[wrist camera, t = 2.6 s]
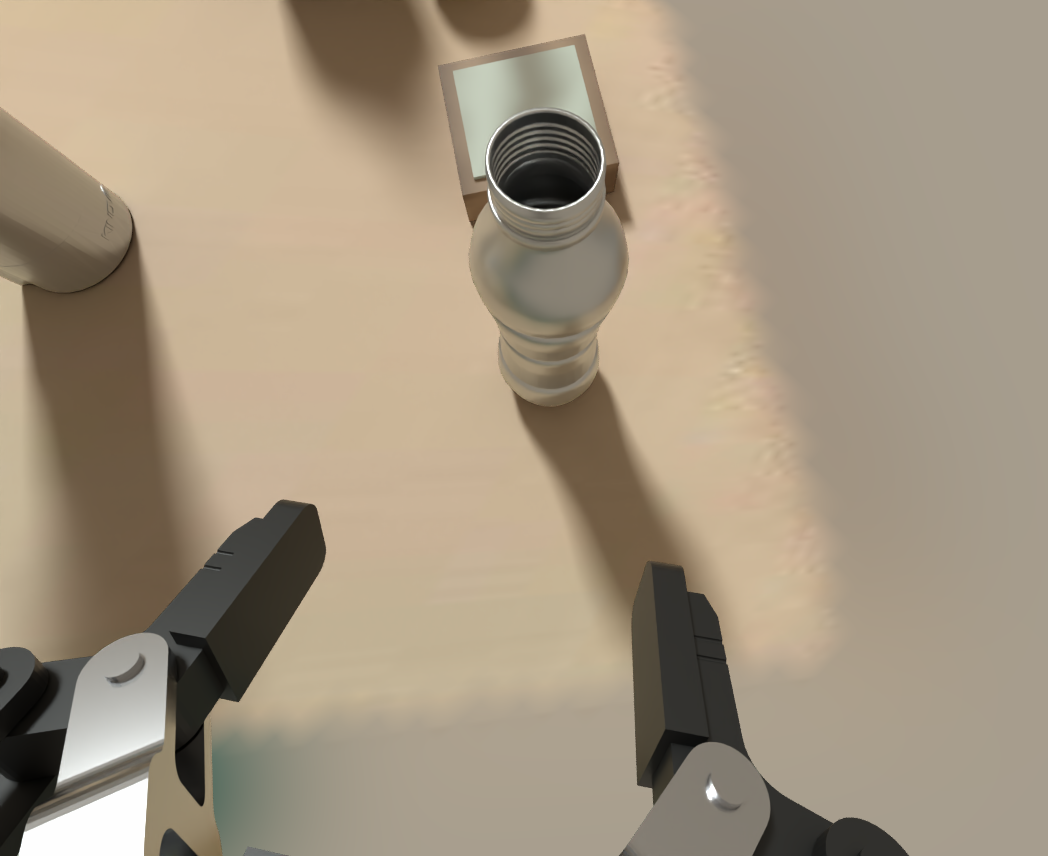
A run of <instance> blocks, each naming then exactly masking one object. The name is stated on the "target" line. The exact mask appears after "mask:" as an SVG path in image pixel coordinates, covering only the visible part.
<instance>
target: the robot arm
mask: <svg viewBox="0 0 1048 856" xmlns="http://www.w3.org/2000/svg"><path fill="white" fill-rule="evenodd" d="M131 237H132V221H131V215H130V213H129V210H128V208H127V206H126V205H125V203H124V202H123V201H122V200H121V198H120V197H118V196H117V195H116V194H114V193H113V192H112V191H110V190H109V189H108V188H106V187H105V186H104V185H102V184H101V183H100V182H98V181H97V180H96V179H95V178H93V177H92V176H91V175H89V174H88V173H87V172H85V171H84V170H83V169H81V168H80V167H79V166H77V165H76V164H75V163H74V162H72V161H71V160H70V159H69V158H67V157H66V156H65V155H63V154H62V153H61V152H59V151H58V150H57V149H55V148H54V147H53V146H51V145H50V144H49V143H47V142H46V141H45V140H43V139H42V138H41V137H39V136H38V135H37V134H35V133H34V132H33V131H31V130H30V129H29V128H27V127H26V126H25V125H23V124H22V123H21V122H19V121H18V120H17V119H15V118H14V117H13V116H11V115H10V114H9V113H8V112H6V111H5V110H4V109H2V108H1V107H0V276H1V277H3V278H5V279H7V280H10V281H12V282H14V283H16V284H19V285H25V284H34V285H36V286H38V287H41V288H43V289H45V290H48V291H52V292H57V293H70V292H75V291H80V290H83V289H86V288H88V287H91V286H93V285H95V284H96V283H98V282H100V281H101V280H103V279H104V278H106V277H107V276H108V275H109V274H110V273H111V272H112V271H113V270H114V269H115V268H116V267H117V266H118V264H119V263H120V262H121V261H122V259H123V257H124V255H125V253H126V252H127V250H128V247H129V244H130V241H131ZM325 555H326V546H325V541H324V537H323V533H322V529H321V524H320V520H319V516H318V512H317V508H316V507H315V505H313V504H308V503H301V502H295V501H289V500H280V501H278V502H277V503H276V504H275V505H274V506H273V507H272V509H271V510H270V511H269V512H268V513H267V515H266V516H265V517H264V518H263V519H261V518H254V519H252V520H251V521H249V522H248V523H246V524H245V525H243V526H242V527H240V528H239V529H237V530H235V531H234V532H233V533H232V534H231V535H230V536H229V537H228V538H227V540H226V541H225V542H224V543H223V544H222V545H221V546H220V548H219V549H218V551H217V553H216V554H213V556H212V557H211V558H210V559H209V560H208V561H207V562H206V563H205V565H204V568H203V569H200V570H199V571H198V573H197V574H196V575H195V576H194V577H193V578H192V579H191V580H190V582H189V583H188V584H187V585H186V586H185V587H184V588H183V590H182V591H181V592H180V593H179V594H178V595H177V596H176V597H175V599H174V600H173V601H172V602H171V603H170V604H169V605H168V607H167V608H166V609H165V610H164V611H163V612H162V613H161V614H160V616H159V617H158V618H157V619H156V620H155V621H154V622H153V624H152V625H151V626H150V627H149V628H148V629H147V630H145V631H144V632H143V633H138V634H133V635H129V636H126V637H123V638H121V639H119V640H117V641H115V642H113V643H111V644H109V645H108V646H106V647H104V648H103V649H102V650H100V651H99V652H98V653H97V654H96V655H94V656H91V657H83V658H75V659H67V660H60V661H52V662H44V663H40V661H39V660H38V659H37V658H36V657H35V656H34V655H33V654H32V653H31V652H30V651H29V650H27V649H25V648H20V647H10V648H3V649H0V856H17V855H18V853H19V856H222V847H221V840H220V835H219V832H218V828H217V825H216V821H215V817H214V810H213V786H212V785H213V784H212V743H211V718H210V714H209V713H210V711H211V710H212V708H213V707H214V705H215V704H216V702H217V701H218V699H219V698H221V699H226V700H231V701H235V702H239V701H240V699H241V698H242V696H243V694H244V693H245V691H246V690H247V688H248V686H249V685H250V683H251V682H252V680H253V678H254V677H255V675H256V674H257V672H258V670H259V669H260V667H261V666H262V664H263V662H264V661H265V659H266V658H267V656H268V654H269V653H270V651H271V650H272V648H273V646H274V645H275V643H276V641H277V640H278V638H279V637H280V635H281V633H282V632H283V630H284V629H285V627H286V625H287V624H288V622H289V621H290V619H291V617H292V616H293V614H294V613H295V611H296V609H297V608H298V606H299V605H300V603H301V601H302V600H303V598H304V597H305V595H306V593H307V592H308V590H309V588H310V587H311V585H312V584H313V582H314V580H315V579H316V577H317V576H318V574H319V572H320V571H321V568H322V566H323V563H324V560H325ZM632 654H633V682H634V710H635V737H636V765H637V785H638V786H643V787H648V788H652V789H653V805H654V806H653V808H652V809H651V811H650V812H649V814H648V815H647V817H646V818H645V820H644V821H643V823H642V824H641V825H640V827H639V828H638V830H637V831H636V833H635V834H634V836H633V837H632V839H631V840H630V842H629V843H628V845H627V846H626V848H625V849H624V850H623V852H622V853H621V854H620V855H619V856H909V855H908V854H907V853H906V852H905V850H904V849H903V848H902V847H901V846H900V845H899V844H898V843H897V842H896V841H895V840H894V839H893V838H892V837H891V836H890V835H888V834H887V833H886V832H885V831H883V830H882V829H880V828H879V827H877V826H876V825H874V824H871V823H870V822H868V821H865V820H862V819H858V818H843V819H840V820H838V821H837V822H835V823H834V824H833V823H832V822H830V821H828V820H826V819H824V818H822V817H821V816H819V815H817V814H815V813H814V812H812V811H810V810H808V809H806V808H805V807H803V806H801V805H799V804H797V803H796V802H794V801H792V800H790V799H788V798H787V797H785V796H784V795H782V794H781V793H779V792H778V791H777V790H776V789H774V788H773V787H772V786H771V785H770V784H769V783H768V782H767V781H766V780H765V779H764V778H763V777H762V776H761V774H760V773H759V772H758V771H757V769H756V768H755V766H754V765H753V763H752V762H751V759H750V758H749V756H748V754H747V751H746V749H745V746H744V742H743V738H742V734H741V729H740V724H739V719H738V714H737V709H736V704H735V699H734V694H733V689H732V684H731V680H730V675H729V670H728V665H726V655H725V650H724V645H722V635H721V631H720V626H719V621H718V616H717V615H716V613H715V611H714V610H713V608H712V607H711V605H710V603H709V602H708V600H707V599H706V597H705V595H704V594H699V593H693V592H687V588H686V582H685V575H684V571H683V568H682V567H681V566H678V565H672V564H666V563H660V562H654V561H648V562H647V564H646V567H645V570H644V573H643V576H642V579H641V582H640V585H639V588H638V591H637V595H636V598H635V601H634V605H633V612H632ZM243 856H287V855H282V854H278V853H274V852H269V851H265V850H261V849H256V848H252V847H247V849H246V851H245V853H244V855H243Z"/></svg>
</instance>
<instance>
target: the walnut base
mask: <svg viewBox="0 0 1048 856" xmlns="http://www.w3.org/2000/svg"><path fill="white" fill-rule="evenodd" d="M438 69H439V74H440V79H441V85H442V90H443V95H444V100H445V106H446V111H447V116H448V122H449V127H450V132H451V137H452V143H453V148H454V153H455V158H456V164H457V169H458V174H459V179H460V185H461V190H462V195H463V199H464V203H465V206H466V210H467V214H468V217H469V221H470V222H471V221H475V220H477V218H478V216H479V214H480V212H481V211H482V209H483V208H484V206H485V205H486V203H487V202H488V196H487V186H488V183H487V178H486V174H485V155H486V148H487V145H488V143H489V140H490V138H491V136H492V135H493V133H494V132H495V130H496V129H497V128H498V127H499V126H500V125H501V124H502V123H503V122H504V121H505V120H507V119H508V118H510V117H511V116H513V115H515V114H517V113H519V112H521V111H524V110H528V109H532V108H540V107H550V108H559V109H562V110H566V111H569V112H571V113H574V114H576V115H578V116H580V117H581V118H582V119H584V120H585V121H587V122H588V123H589V124H590V125H591V126H592V127H593V128H594V129H595V131H596V132H597V134H598V135H599V137H600V139H601V141H602V144H603V146H604V149H605V157H606V174H605V187H606V193H609V192H614V187H615V182H616V176H617V171H618V166H619V160H618V156H617V153H616V149H615V145H614V142H613V138H612V134H611V130H610V127H609V123H608V119H607V115H606V112H605V108H604V104H603V100H602V97H601V93H600V89H599V85H598V82H597V78H596V74H595V71H594V67H593V63H592V59H591V56H590V52H589V48H588V44H587V41H586V37H585V34H583V35H579V36H574V37H569V38H565V39H560V40H555V41H551V42H546V43H541V44H537V45H532V46H527V47H523V48H518V49H513V50H509V51H504V52H500V53H495V54H490V55H486V56H481V57H476V58H472V59H467V60H462V61H458V62H453V63H448V64H444V65H439V66H438Z"/></svg>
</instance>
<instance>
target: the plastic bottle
mask: <svg viewBox="0 0 1048 856" xmlns="http://www.w3.org/2000/svg"><path fill="white" fill-rule="evenodd" d="M485 174H486V178H487V183H488V186H487V196H488V202H487V203H486V205H485V206H484V208H483V209H482V211H481V212H480V214H479V216H478V218H477V221H476V223H475V226H474V228H473V233H472V237H471V242H470V249H469V268H470V272H471V276H472V279H473V283H474V285H475V287H476V289H477V291H478V293H479V295H480V297H481V299H482V301H483V303H484V305H485V306H486V307H487V309H488V310H489V312H490V313H491V315H492V316H493V318H494V319H495V321H496V323H497V325H498V328H499V330H500V337H499V343H498V364H499V368H500V371H501V374H502V376H503V378H504V380H505V381H506V383H507V384H508V385H509V386H510V388H511V389H512V390H513V391H515V392H516V393H517V394H518V395H519V396H520V397H522V398H523V399H525V400H527V401H529V402H531V403H533V404H536V405H540V406H547V407H549V406H559V405H563V404H566V403H569V402H571V401H573V400H574V399H576V398H577V397H578V396H580V395H581V394H582V393H584V392H585V391H586V390H587V389H588V387H589V386H590V385H591V384H592V382H593V380H594V378H595V377H596V373H597V370H598V366H599V347H598V340H597V332H598V330H599V327H600V325H601V323H602V322H603V320H604V319H605V317H606V316H607V314H608V313H609V312H610V310H611V309H612V307H613V306H614V304H615V302H616V300H617V299H618V297H619V295H620V292H621V290H622V288H623V286H624V283H625V280H626V277H627V273H628V263H629V256H628V248H627V242H626V238H625V233H624V230H623V227H622V225H621V222H620V219H619V217H618V216H617V214H616V212H615V211H614V209H613V207H612V206H611V205H610V204H609V203H608V202H607V201H606V200H605V196H606V187H605V174H606V157H605V149H604V146H603V144H602V141H601V139H600V137H599V135H598V134H597V132H596V131H595V129H594V128H593V127H592V126H591V125H590V124H589V123H588V122H587V121H585V120H584V119H582V118H581V117H580V116H578V115H576V114H574V113H571V112H569V111H566V110H562V109H559V108H550V107H540V108H532V109H528V110H524V111H521V112H519V113H517V114H515V115H513V116H511V117H510V118H508V119H507V120H505V121H504V122H503V123H502V124H501V125H500V126H499V127H498V128H497V129H496V130H495V132H494V133H493V135H492V136H491V138H490V140H489V143H488V145H487V148H486V155H485Z"/></svg>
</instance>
